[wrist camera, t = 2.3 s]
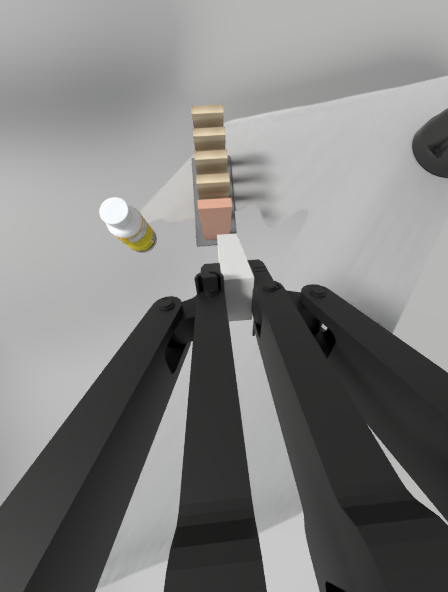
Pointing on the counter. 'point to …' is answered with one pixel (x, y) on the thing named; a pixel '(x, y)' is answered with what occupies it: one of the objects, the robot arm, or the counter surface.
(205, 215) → the domino
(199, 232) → the mat
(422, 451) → the robot arm
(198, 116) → the domino
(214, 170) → the domino
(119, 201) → the pill bottle
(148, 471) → the counter surface
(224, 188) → the domino
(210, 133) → the domino
